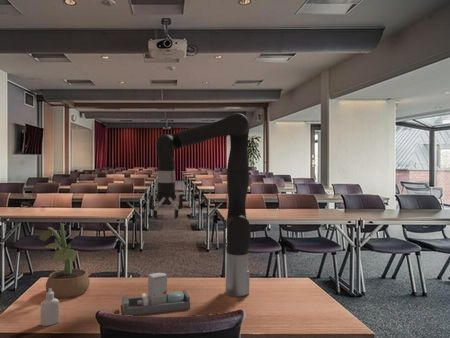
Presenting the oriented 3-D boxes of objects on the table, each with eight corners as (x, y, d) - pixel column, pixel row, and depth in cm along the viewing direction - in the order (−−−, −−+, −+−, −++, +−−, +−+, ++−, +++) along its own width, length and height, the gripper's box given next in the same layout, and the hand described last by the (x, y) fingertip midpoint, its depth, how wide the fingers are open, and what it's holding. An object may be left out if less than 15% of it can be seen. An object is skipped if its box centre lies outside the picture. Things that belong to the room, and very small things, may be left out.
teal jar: (181, 300, 150) (181, 290, 150) (185, 306, 144) (185, 296, 144) (166, 302, 148) (166, 292, 148) (169, 308, 142) (169, 298, 142)
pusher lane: (184, 301, 152) (184, 288, 152) (190, 311, 143) (190, 298, 142) (121, 307, 145) (121, 294, 145) (123, 318, 135) (123, 304, 135)
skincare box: (151, 310, 141) (152, 277, 140) (147, 306, 144) (147, 274, 144) (167, 306, 144) (167, 274, 144) (162, 302, 148) (162, 271, 147)
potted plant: (51, 285, 167) (51, 216, 166) (94, 284, 169) (94, 216, 167) (29, 305, 145) (29, 226, 143) (78, 305, 146) (78, 227, 145)
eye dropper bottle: (43, 320, 132) (43, 286, 132) (60, 320, 133) (60, 286, 133) (38, 326, 128) (38, 291, 128) (56, 326, 129) (56, 290, 128)
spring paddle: (145, 303, 146) (145, 293, 146) (147, 311, 139) (148, 300, 139) (136, 304, 145) (136, 294, 145) (138, 312, 138) (138, 301, 138)
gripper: (150, 182, 159) (150, 221, 160) (184, 181, 163) (183, 219, 164) (148, 180, 166) (148, 217, 167) (180, 180, 170) (180, 216, 171)
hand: (165, 218), depth 165 cm, fingers open, 8 cm apart
